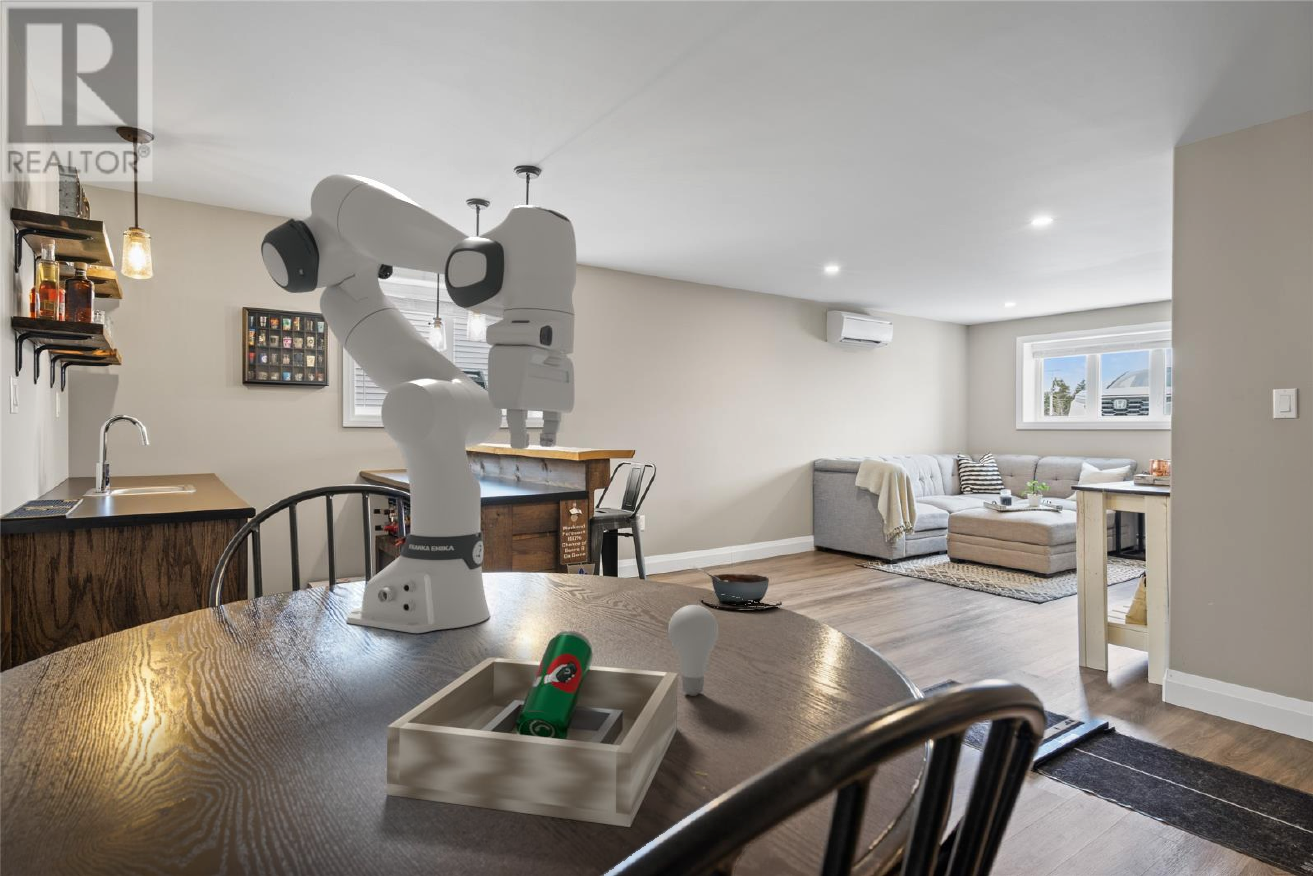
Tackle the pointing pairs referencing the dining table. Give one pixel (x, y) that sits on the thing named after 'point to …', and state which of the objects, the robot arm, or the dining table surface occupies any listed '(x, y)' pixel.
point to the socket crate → (536, 744)
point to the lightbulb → (693, 644)
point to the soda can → (556, 687)
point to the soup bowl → (739, 589)
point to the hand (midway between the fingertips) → (534, 447)
